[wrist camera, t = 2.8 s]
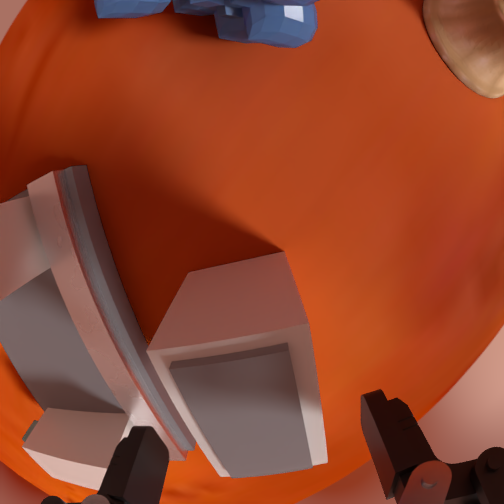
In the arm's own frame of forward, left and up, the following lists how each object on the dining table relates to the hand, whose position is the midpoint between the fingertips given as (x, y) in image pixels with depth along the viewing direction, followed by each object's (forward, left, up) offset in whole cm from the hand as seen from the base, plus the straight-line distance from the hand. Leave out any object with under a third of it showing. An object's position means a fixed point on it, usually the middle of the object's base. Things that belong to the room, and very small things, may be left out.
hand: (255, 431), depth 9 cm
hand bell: (-15, +18, -7) cm, 25 cm away
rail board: (-1, -13, -7) cm, 15 cm away
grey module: (0, 0, -7) cm, 7 cm away
